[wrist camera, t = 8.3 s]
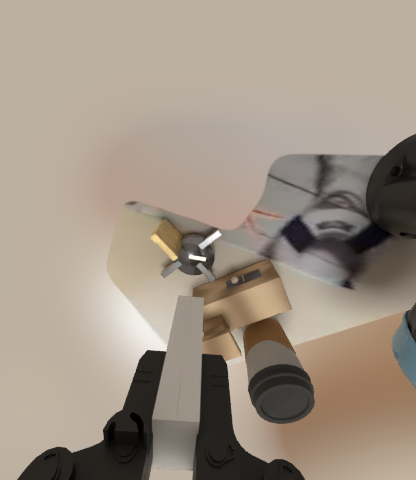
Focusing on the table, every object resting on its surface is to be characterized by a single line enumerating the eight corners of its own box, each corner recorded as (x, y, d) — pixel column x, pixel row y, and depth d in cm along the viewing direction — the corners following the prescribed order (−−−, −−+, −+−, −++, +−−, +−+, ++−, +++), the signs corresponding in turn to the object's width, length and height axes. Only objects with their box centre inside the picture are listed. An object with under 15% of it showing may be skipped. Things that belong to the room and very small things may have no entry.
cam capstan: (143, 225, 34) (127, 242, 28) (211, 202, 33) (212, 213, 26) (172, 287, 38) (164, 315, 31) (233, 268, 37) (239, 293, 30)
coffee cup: (227, 323, 41) (237, 409, 27) (256, 294, 39) (284, 370, 25) (260, 344, 43) (285, 434, 29) (290, 317, 41) (333, 400, 27)
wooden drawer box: (266, 253, 36) (289, 290, 26) (280, 287, 39) (305, 333, 28) (190, 283, 38) (184, 329, 28) (208, 314, 41) (208, 366, 31)
